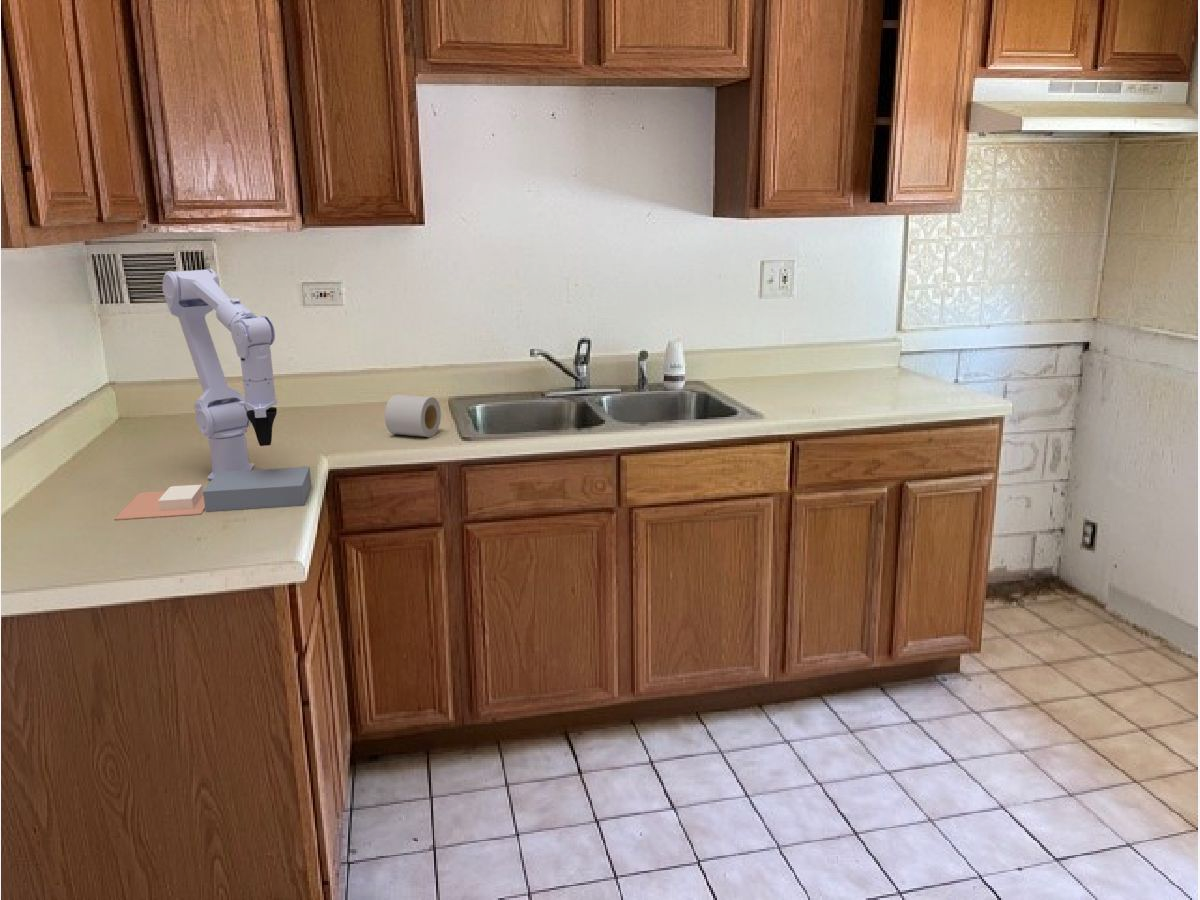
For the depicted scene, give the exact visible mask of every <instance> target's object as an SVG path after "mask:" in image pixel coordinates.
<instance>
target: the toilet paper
mask: <svg viewBox="0 0 1200 900" xmlns="http://www.w3.org/2000/svg"><path fill="white" fill-rule="evenodd" d="M439 403H440V402H439V401H438V400H437V399H436V397H434V396H433V397H432V396H424V395H423V396H420V395H406V394H394V395H392V396H390V398H389V399H388V401H387V403H386V406H385V410H384V421H385V426H386V428H387V429H386V430H388V432H389V433H390V434H392V435H400V436H411V437H413V436H414V437H424V438H432V437H434V436H435V435H436V434H437V432H438V430H439V428H440V424H441V417H442V416H441V415H442V413H441V407H440V404H439ZM433 435H434V436H433ZM431 436H432V437H431Z"/></svg>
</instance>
